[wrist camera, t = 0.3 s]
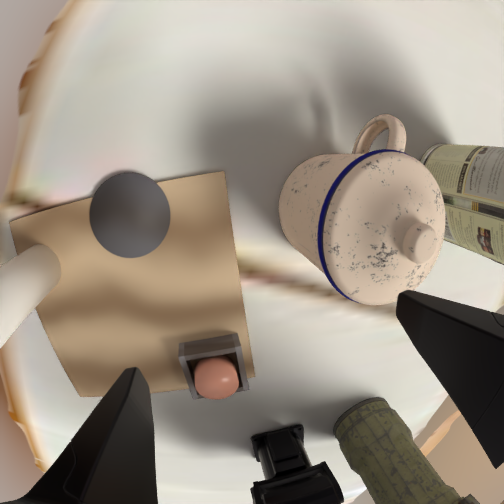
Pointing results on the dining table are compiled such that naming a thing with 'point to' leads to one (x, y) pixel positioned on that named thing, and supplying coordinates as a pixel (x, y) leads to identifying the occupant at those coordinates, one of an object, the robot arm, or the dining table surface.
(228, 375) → the button
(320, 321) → the dining table surface
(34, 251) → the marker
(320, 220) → the teacup with lid
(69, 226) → the board
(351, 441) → the thermos
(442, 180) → the coffee can
